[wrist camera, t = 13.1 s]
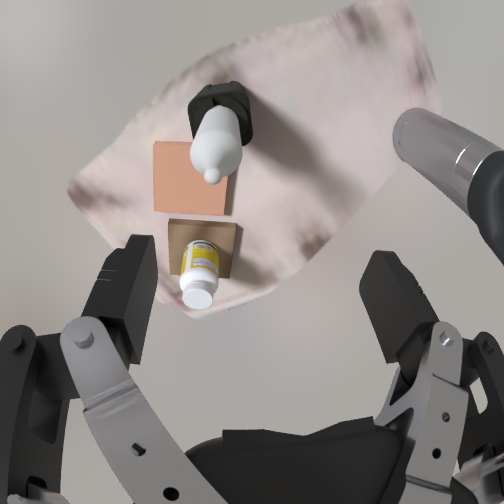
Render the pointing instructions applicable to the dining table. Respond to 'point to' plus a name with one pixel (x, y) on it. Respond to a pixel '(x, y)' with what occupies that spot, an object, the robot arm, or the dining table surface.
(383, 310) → the robot arm
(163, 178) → the terracotta tile
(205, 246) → the supplement bottle
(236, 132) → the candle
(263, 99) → the dining table surface
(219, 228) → the walnut mat
